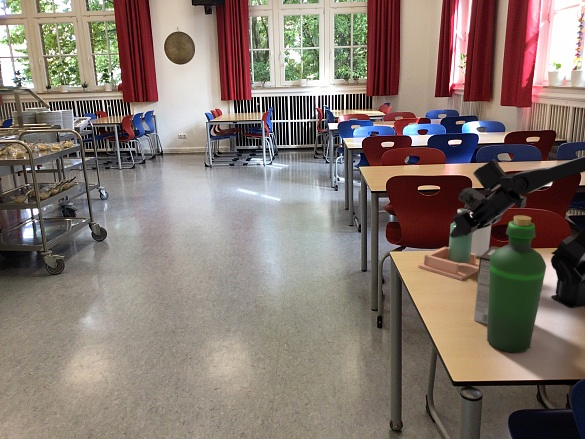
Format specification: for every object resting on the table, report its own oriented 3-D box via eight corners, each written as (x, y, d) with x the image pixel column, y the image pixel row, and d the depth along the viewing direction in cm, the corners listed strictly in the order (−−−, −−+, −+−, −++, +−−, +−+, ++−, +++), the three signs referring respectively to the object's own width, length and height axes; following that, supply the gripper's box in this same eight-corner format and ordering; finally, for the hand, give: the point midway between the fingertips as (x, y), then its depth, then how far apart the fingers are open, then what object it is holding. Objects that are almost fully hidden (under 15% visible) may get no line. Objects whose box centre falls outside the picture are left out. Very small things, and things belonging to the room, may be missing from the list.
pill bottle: (492, 257, 155) (496, 211, 151) (466, 257, 155) (470, 211, 151) (483, 248, 163) (487, 205, 158) (458, 249, 163) (462, 205, 159)
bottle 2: (524, 332, 109) (540, 210, 102) (543, 358, 99) (562, 225, 91) (475, 330, 110) (487, 210, 103) (489, 356, 100) (502, 224, 93)
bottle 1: (472, 263, 141) (477, 213, 137) (450, 262, 142) (454, 212, 138) (467, 255, 147) (471, 207, 143) (446, 255, 148) (449, 207, 144)
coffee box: (485, 306, 122) (492, 245, 117) (513, 314, 118) (520, 250, 113) (472, 320, 115) (478, 255, 110) (500, 328, 111) (508, 262, 107)
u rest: (484, 267, 147) (486, 255, 146) (461, 280, 138) (462, 267, 137) (442, 255, 157) (443, 244, 156) (418, 267, 148) (418, 255, 147)
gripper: (494, 175, 141) (456, 205, 152) (462, 185, 129) (423, 217, 140) (519, 206, 138) (478, 235, 149) (488, 219, 126) (446, 250, 137)
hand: (456, 233), depth 144 cm, fingers closed on bottle 1, 6 cm apart
